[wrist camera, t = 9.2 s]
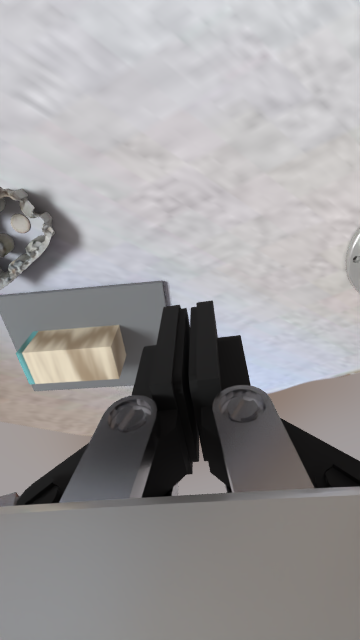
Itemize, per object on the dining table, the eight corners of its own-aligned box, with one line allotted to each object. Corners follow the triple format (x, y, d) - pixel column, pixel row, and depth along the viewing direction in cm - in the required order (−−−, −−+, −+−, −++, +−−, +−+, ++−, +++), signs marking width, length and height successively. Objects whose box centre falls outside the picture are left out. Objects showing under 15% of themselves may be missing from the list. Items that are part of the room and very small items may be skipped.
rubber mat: (162, 280, 42) (161, 282, 41) (177, 380, 49) (177, 382, 49) (-5, 295, 44) (-7, 297, 43) (35, 388, 52) (34, 391, 51)
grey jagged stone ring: (15, 175, 36) (-4, 181, 33) (67, 230, 39) (55, 240, 36) (-39, 236, 40) (-62, 247, 36) (12, 282, 43) (-4, 296, 39)
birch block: (110, 346, 40) (15, 353, 41) (119, 378, 43) (29, 384, 44) (119, 324, 44) (32, 331, 45) (126, 355, 47) (44, 361, 48)
